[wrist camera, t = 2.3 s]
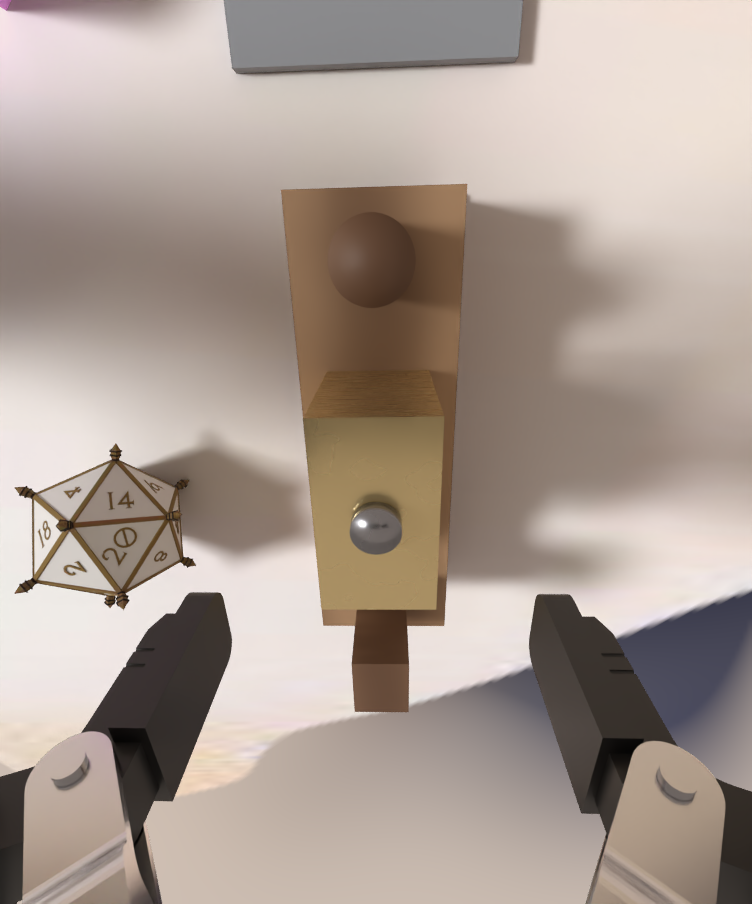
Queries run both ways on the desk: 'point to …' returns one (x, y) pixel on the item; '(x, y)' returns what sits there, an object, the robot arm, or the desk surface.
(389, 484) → the lever cap
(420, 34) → the mat
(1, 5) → the bracket
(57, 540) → the game die
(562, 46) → the desk surface
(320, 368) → the plane body
